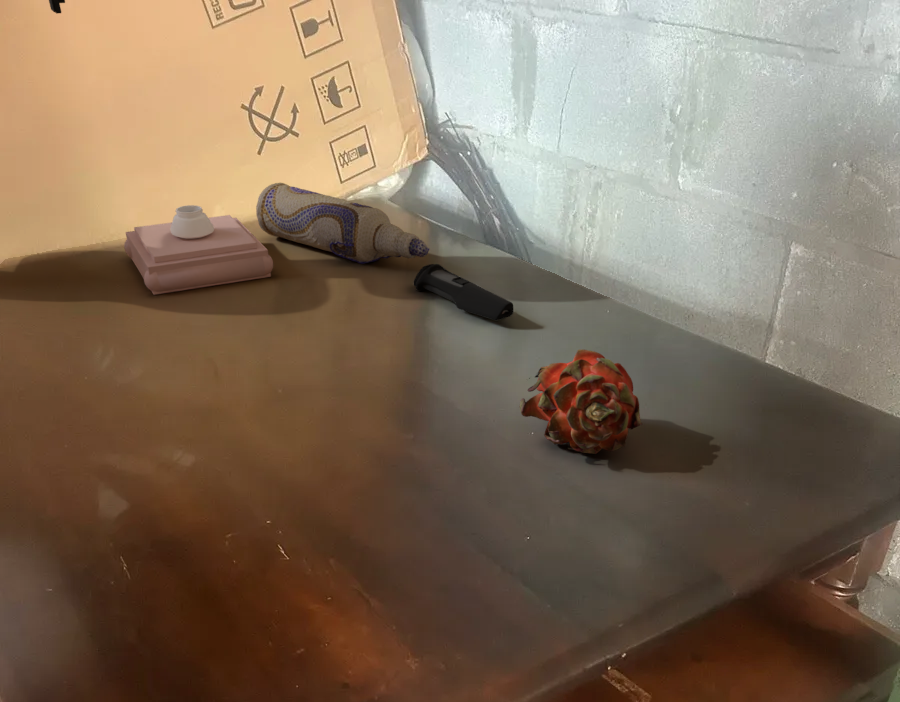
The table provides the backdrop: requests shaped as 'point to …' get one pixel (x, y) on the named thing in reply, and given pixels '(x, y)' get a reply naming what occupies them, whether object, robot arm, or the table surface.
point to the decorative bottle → (333, 225)
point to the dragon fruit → (585, 403)
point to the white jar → (191, 223)
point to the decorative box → (197, 256)
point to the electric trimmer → (462, 292)
